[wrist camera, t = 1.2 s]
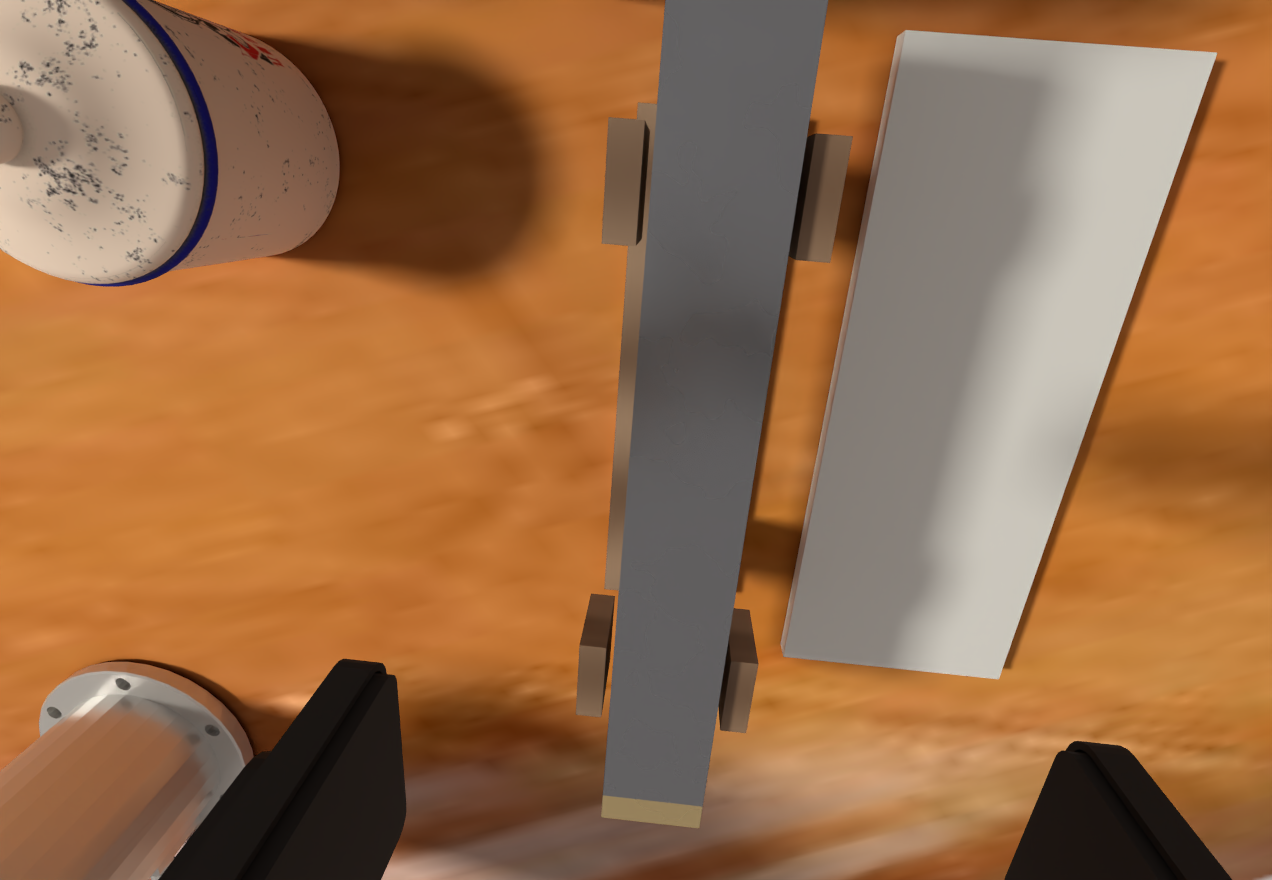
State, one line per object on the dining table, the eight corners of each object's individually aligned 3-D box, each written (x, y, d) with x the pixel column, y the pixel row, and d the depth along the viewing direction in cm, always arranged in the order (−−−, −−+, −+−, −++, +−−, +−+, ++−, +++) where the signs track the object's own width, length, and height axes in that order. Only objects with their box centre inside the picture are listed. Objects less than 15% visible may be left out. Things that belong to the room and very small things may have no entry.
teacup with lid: (322, 15, 25) (52, -120, 14) (369, 255, 29) (178, 293, 18) (39, 39, 26) (-413, -69, 15) (116, 270, 29) (-214, 314, 19)
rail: (696, 749, 27) (699, 828, 24) (611, 739, 27) (601, 817, 24) (809, -28, 17) (840, -82, 14) (674, -38, 17) (672, -93, 14)
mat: (990, 666, 34) (999, 679, 33) (780, 644, 34) (783, 656, 33) (1196, 58, 24) (1217, 52, 23) (897, 36, 24) (905, 29, 23)
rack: (721, 589, 33) (740, 765, 23) (606, 578, 34) (574, 746, 23) (790, 117, 26) (865, 66, 15) (639, 105, 26) (612, 47, 15)
